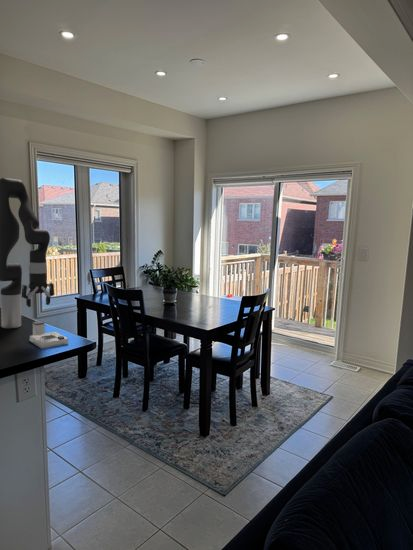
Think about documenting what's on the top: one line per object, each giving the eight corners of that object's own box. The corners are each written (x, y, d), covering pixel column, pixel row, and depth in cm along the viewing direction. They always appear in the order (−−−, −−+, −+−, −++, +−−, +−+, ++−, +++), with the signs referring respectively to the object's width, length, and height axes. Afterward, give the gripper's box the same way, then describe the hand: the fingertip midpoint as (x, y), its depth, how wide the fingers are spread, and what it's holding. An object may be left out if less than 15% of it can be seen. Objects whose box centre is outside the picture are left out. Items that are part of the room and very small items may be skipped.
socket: (29, 341, 175) (29, 334, 175) (55, 336, 183) (55, 330, 183) (41, 348, 165) (41, 341, 165) (68, 343, 173) (68, 337, 173)
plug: (32, 336, 183) (32, 322, 182) (41, 334, 185) (41, 320, 185) (36, 338, 180) (35, 323, 179) (44, 336, 183) (44, 322, 182)
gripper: (49, 270, 186) (50, 302, 188) (19, 271, 177) (19, 306, 178) (56, 272, 181) (56, 305, 183) (25, 273, 171) (25, 308, 173)
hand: (38, 305), depth 181 cm, fingers open, 8 cm apart
